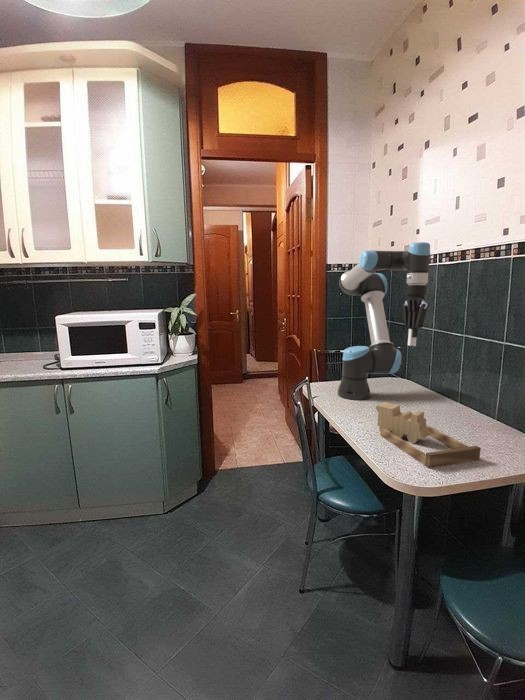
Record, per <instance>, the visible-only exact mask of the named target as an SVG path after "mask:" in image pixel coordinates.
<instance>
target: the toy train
mask: <svg viewBox="0 0 525 700" xmlns="http://www.w3.org/2000/svg"><path fill="white" fill-rule="evenodd" d="M375 409H376V411H377V413H378V415H377V426H378V427H379V431H380V432H381V428H385V429H387V430H388V431H390V432H391V433H393V434H395V435H396V436H398V437H399V438H401V439H403V437H405V436H407V441H408V443H409V442H410V444H416V443H417V442H419V441H420V440H421V441H422V440H424V439H426V438H427V437H429V435H430V431H429V430H428V428H427V427H426V425H427V418H425V411H424V410H418V411H416V412H414V413H413V412H412V411H411V410H407V411H405V412H402V411H401V406H400V405H398V404H395V403H389V402H386V401H385V402H382V403H380V404H378V405H376V406H375ZM380 432H379V433H380Z"/></svg>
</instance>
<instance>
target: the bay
mask: <svg viewBox="0 0 525 700" xmlns="http://www.w3.org/2000/svg"><path fill="white" fill-rule="evenodd" d="M426 427H427V428H428V430H429V431H430V435H428V437H429V436H430V437H431V438H433V439H435V440H436V441H439V442H440V443H442V444H443V445H446V446H447V447H449V448H451V449H445V450H436V451H429V452H426V453H425V452H422V450H420V449H418V448H416V447H415V446H414V445H412V444H411V443H409V442H407V441H406V440H404V439H403V438H399V437H398V436H396V435H395V434H393V433H392V432H390V431H388V430H387V429H385V428H381V432H379V433H380V434H379V435H380V436H381V437H382V438H384V439H385V440H387V441H388V442H390V443H391V444H392V445H394V446H395V447H397V448H398V449H400V450H402V452H404V453H405V454H407V455H409V456H410V457H411V458H413V459H414V460H416V461H417V462H419V463H420V464H422V465H423V466H424V467H426V468H428V469H433V468H438V467H446V466H451V465H459V464H464V463H472V462H477V461H480V457H481V451H482V450H481V447H480V446H478V445H472V446H469V445H467V444H464V443H463V442H462V441H459V440H457V439H455V438H453V437H451V436H450V435H448V434H445V433H444V432H441V431H439V430H438V429H436V428H434V427H432V426H430V425H428V424H426Z"/></svg>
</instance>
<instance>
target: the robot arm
mask: <svg viewBox="0 0 525 700" xmlns="http://www.w3.org/2000/svg"><path fill="white" fill-rule="evenodd" d="M430 259H431V243H429V242H412V243H410V244H409V246H408V249H407V250H374V249H373V250H372V249H371V250H364V251H363V252H361V255H360V257H359V262H358V263H357V264H356V265H355V266H354V267H353V268H351V269H350V270H347V271H345V272H344V273H343V274H342V275H341V276H340V278H339V280H338V285H339V287H340V289H341V291H342V292H343V293H344V294H347V295H349V296H353V297H354V296H356V297H358V296H359V297H360V300H361V302H363V303H364V306H365V312H366V318H367V325H368V330H369V331H368V332H369V336H370V343H371V344H370V345H369V346H365V345H355V346H354V345H353V346H349V347H347V348H345V349H344V350H343V353H342V354H343V355H342V367H341V368H342V370H341V372H342V373H341V379H340V383H339V386H338V389H337V395H338V396H339V397H341V398H343V399H348V400H355V401H358V400H359V401H361V400H367V399H370V398H371V390H370V386H369V382H368V375H380V374H381V375H388V374H395V373H397V372H398V371H399V370H400V367H401V365H402V352H401V350H400V349H398V348H396V347H395V344H394V343H393V342H391V341H390V335H389V329H388V324H387V320H386V319H387V318H386V313H385V309H384V308H385V307H384V302H383V299H384V298H385V295H386V294H387V291H388V279H387V278H386V276H385V274H383V273H378V272H377V271H399V272H401V271H403V272H404V271H406V284H407V285H406V286H405V292H404V293H405V295H406V296H407V297H406V300H405V301H404V302H402V303H401V306H402V308H403V310H402V311H403V323H404V327H405V328H406V327H407V329H408V330H407V337H408V338H407V346H409V347H412V346H413V347H414V346H416V345H417V338H418V334H419V333H418V331H419V329H422V328H423V326H424V323H425V318H426V315H427V311H428V309H429V307H430V303H427V302H426V300H425V296H426V295H427V293H428V285H427V284H428V283H429V269H430V268H429V267H430Z"/></svg>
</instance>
